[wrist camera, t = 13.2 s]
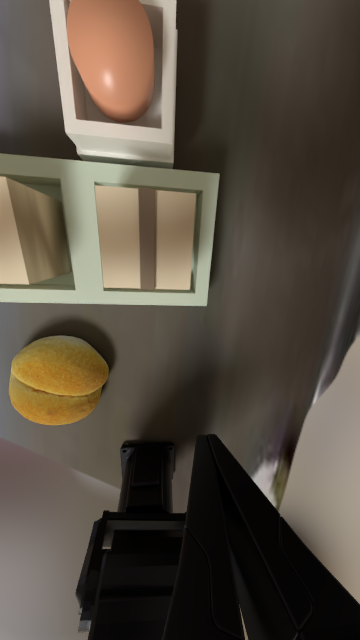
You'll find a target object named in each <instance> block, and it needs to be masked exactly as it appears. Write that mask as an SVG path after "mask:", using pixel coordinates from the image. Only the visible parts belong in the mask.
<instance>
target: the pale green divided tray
mask: <svg viewBox="0 0 360 640" xmlns="http://www.w3.org/2000/svg"><path fill="white" fill-rule="evenodd" d="M219 175H220V174H219V173H208V172H197V171H186V170H175V169H164V168H153V167H142V166H132V165H121V164H110V163H99V162H88V161H77V160H66V159H55V158H45V157H34V156H23V155H12V154H1V153H0V176H1V177H7V178H9V179H12V180H14V181H16V182H18V183H20V184H23V185H25V186H27V187H29V188H32V189H34V190H36V191H38V192H41V193H43V194H45V195H47V196H50V197H52V198H54V199H56V200H59V201H61V204H62V211H63V218H64V225H65V232H66V239H67V246H68V253H69V260H70V267H71V272H70V273H67V274H63V275H60V276H56V277H53V278H50V279H46V280H43V281H39V282H36V283H33V284H29V285H28V284H0V302H30V303H81V304H131V305H182V306H207V296H208V286H209V276H210V266H211V256H212V246H213V236H214V225H215V215H216V205H217V195H218V185H219ZM95 185H98V186H110V187H123V188H135V189H138V188H149V189H155V190H160V191H173V192H185V193H196V204H195V219H194V235H193V250H192V265H191V280H190V290H174V289H155V290H149V289H139V288H104V285H103V273H102V262H101V251H100V239H99V228H98V217H97V205H96V194H95Z"/></svg>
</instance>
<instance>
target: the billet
mask: <svg viewBox="0 0 360 640" xmlns="http://www.w3.org/2000/svg"><path fill="white" fill-rule="evenodd" d="M70 272H71V267H70V260H69V253H68V246H67V239H66V232H65V225H64V218H63V211H62V204H61V201H59V200H56V199H54V198H52V197H50V196H47V195H45V194H43V193H41V192H38V191H36V190H34V189H32V188H29V187H27V186H25V185H23V184H20V183H18V182H16V181H14V180H12V179H9V178H7V177H1V176H0V284H28V285H29V284H33V283H36V282H39V281H43V280H46V279H50V278H53V277H56V276H60V275H63V274H67V273H70Z"/></svg>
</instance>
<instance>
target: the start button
mask: <svg viewBox="0 0 360 640" xmlns="http://www.w3.org/2000/svg"><path fill="white" fill-rule="evenodd" d="M67 38H68V44H69V48H70V52H71V55H72V58H73V60H74V62H75V64H76V67H77V69H78V71H79V73H80V75H81V77H82V80H83V82H84V84H85V86H86V88H87V90H88V92H89V94H90V97H91V99H92V100H93V102H94V104H95V105H96V106H97V108H98V109H99V110H100V111H101V112H102V113H103V114H104V115H105V116H107V117H108V118H110V119H111V120H113V121H116V122H120V123H130V122H133V121H136V120H138V119H139V118H141V117H142V116H143V115H144V114H145V113H146V111H147V110H148V108H149V106H150V104H151V102H152V99H153V95H154V87H155V78H154V49H153V36H152V31H151V26H150V23H149V20H148V17H147V14H146V12H145V10H144V8H143V6H142V4H141V3H140V1H139V0H71V3H70V6H69V10H68V15H67Z"/></svg>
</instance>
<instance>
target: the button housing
mask: <svg viewBox="0 0 360 640" xmlns="http://www.w3.org/2000/svg"><path fill="white" fill-rule="evenodd" d="M139 1H140V3H141V4H142V6H143V8H144V10H145V12H146V14H147V17H148V20H149V23H150V26H151V31H152V36H153V49H154V78H155V87H154V95H153V99H152V102H151V104H150V106H149V108H148V110H147V111H146V113H145V114H144V115H143V116H142V117H141V118H139V119H138V120H136V121H133V122H130V123H120V122H116V121H113V120H111V119H110V118H108V117H107V116H105V115H104V114H103V113H102V112H101V111H100V110H99V109H98V108H97V106H96V105H95V104H94V102H93V100H92V99H91V97H90V94H89V92H88V90H87V88H86V86H85V84H84V82H83V80H82V77H81V75H80V73H79V71H78V69H77V67H76V64H75V62H74V60H73V58H72V55H71V52H70V48H69V44H68V38H67V15H68V10H69V6H70V3H71V0H49V2H50V10H51V18H52V26H53V34H54V43H55V51H56V59H57V67H58V75H59V83H60V92H61V100H62V108H63V116H64V124H65V133H66V134H67V135H68V136H69V137H70V139H71V140H72V141H73V142H74V143H75V145H76V148H77V154H78V155H79V156H80V158H81V159H82V160H83V161H88V162H99V163H110V164H121V165H132V166H142V167H153V168H164V169H173V163H174V132H175V99H176V66H177V32H178V30H177V29H176V0H139Z"/></svg>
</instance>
